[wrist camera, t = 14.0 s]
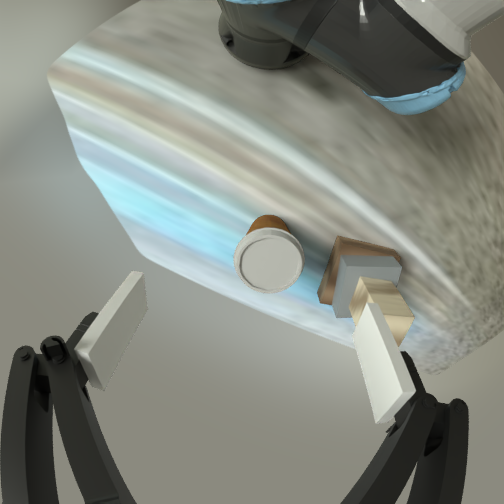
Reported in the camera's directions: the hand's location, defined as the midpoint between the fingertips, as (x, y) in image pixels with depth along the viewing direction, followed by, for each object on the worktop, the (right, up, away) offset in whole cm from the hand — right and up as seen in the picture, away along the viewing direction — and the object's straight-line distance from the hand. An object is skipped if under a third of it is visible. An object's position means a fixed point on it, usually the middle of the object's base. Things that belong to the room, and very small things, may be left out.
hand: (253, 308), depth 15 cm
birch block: (+19, -4, +27) cm, 33 cm away
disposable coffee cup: (+3, +7, +31) cm, 32 cm away
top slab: (+19, -2, +30) cm, 36 cm away
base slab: (+19, 0, +34) cm, 39 cm away
